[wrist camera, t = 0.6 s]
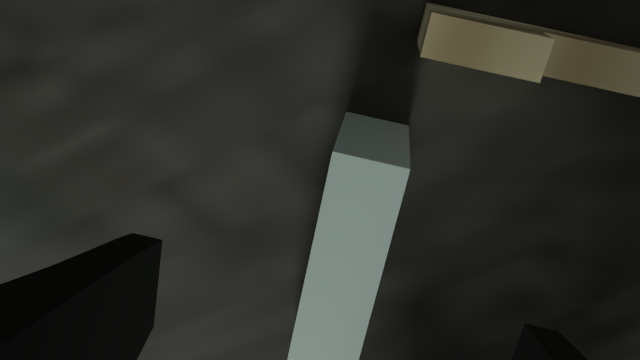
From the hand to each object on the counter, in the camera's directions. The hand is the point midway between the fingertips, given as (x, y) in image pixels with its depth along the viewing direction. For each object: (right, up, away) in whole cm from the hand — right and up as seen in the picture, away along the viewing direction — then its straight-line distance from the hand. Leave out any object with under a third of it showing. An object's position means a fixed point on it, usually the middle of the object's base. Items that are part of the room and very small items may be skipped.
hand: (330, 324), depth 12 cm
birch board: (+8, +7, +8) cm, 13 cm away
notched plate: (+1, 0, +11) cm, 11 cm away
